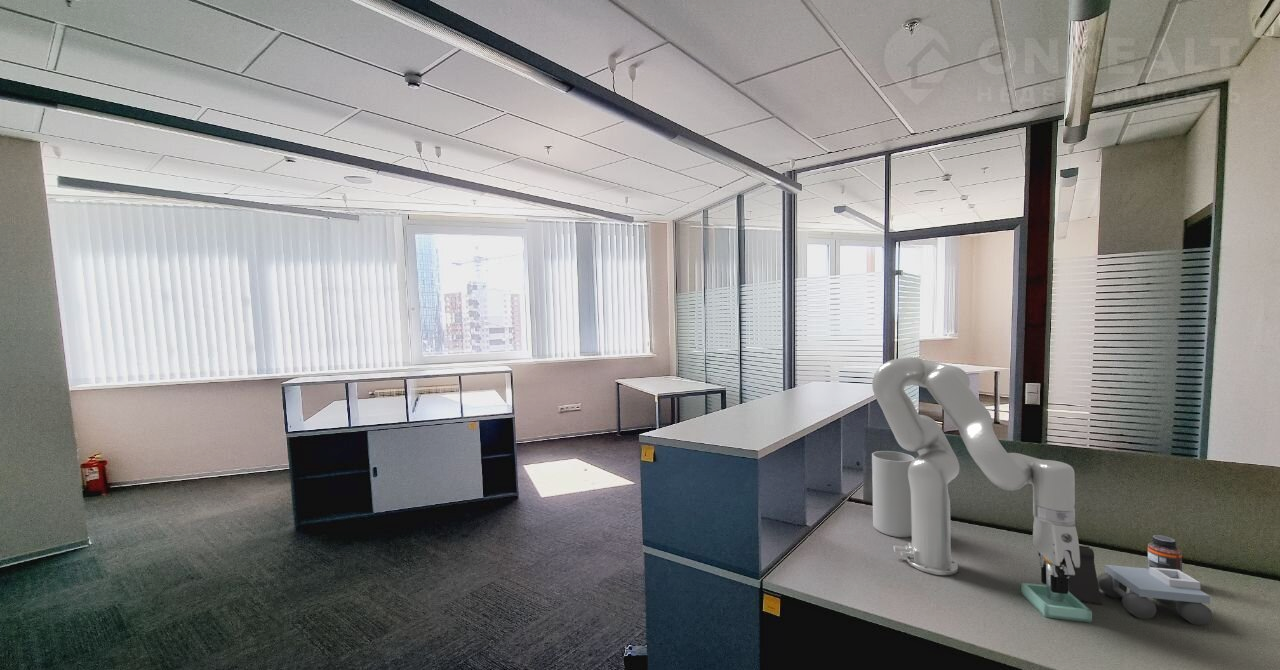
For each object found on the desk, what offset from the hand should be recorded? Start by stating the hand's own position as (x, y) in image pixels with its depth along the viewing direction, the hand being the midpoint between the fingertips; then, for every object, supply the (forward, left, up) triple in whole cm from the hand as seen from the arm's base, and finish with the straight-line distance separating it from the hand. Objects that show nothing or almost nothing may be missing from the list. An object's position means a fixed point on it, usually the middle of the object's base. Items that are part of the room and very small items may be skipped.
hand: (1054, 587), depth 109 cm
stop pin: (0, 0, -3) cm, 3 cm away
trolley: (+21, +5, -5) cm, 22 cm away
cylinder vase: (-26, +38, -5) cm, 46 cm away
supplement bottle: (+34, +20, -5) cm, 40 cm away
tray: (0, 0, -5) cm, 5 cm away
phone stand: (+9, +8, -5) cm, 13 cm away
